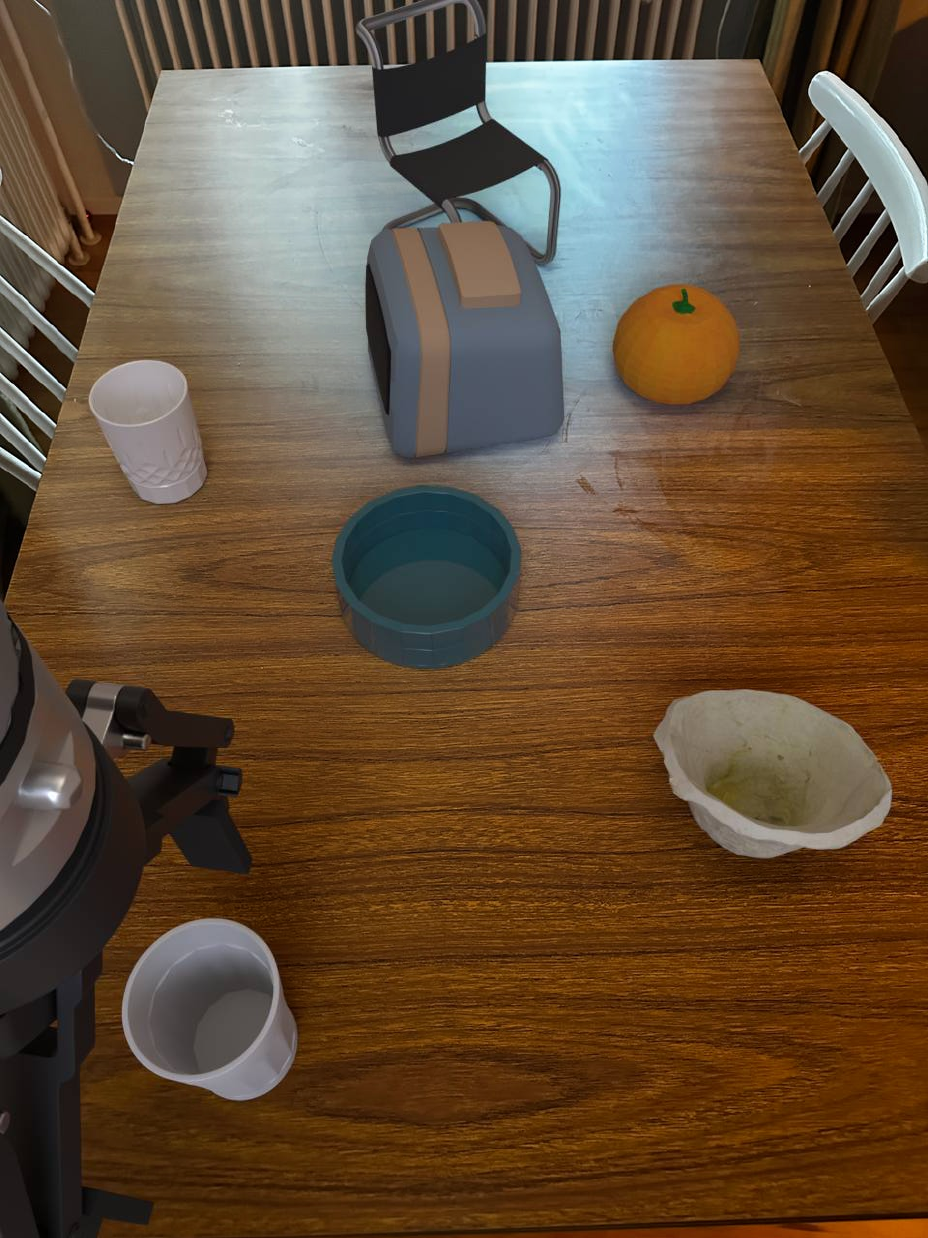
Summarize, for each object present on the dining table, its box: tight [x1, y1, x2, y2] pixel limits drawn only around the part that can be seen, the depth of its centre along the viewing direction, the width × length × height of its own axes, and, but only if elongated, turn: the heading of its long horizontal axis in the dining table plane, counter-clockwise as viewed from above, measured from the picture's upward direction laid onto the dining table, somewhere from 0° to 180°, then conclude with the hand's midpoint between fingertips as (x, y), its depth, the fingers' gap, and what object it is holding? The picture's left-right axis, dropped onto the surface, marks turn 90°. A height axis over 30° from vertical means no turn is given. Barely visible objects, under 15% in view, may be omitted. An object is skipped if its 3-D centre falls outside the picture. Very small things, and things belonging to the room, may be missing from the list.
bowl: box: [653, 688, 893, 859], centre depth 63 cm, size 15×14×10 cm
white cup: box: [88, 359, 208, 505], centre depth 81 cm, size 8×8×10 cm
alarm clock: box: [364, 220, 565, 458], centre depth 85 cm, size 16×16×16 cm
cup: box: [121, 917, 299, 1101], centre depth 54 cm, size 8×8×12 cm
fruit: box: [611, 283, 741, 406], centre depth 88 cm, size 12×12×10 cm
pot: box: [331, 484, 522, 670], centre depth 76 cm, size 15×15×5 cm
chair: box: [355, 0, 562, 266], centre depth 95 cm, size 13×17×22 cm
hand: (174, 1019), depth 40 cm, fingers open, 13 cm apart
